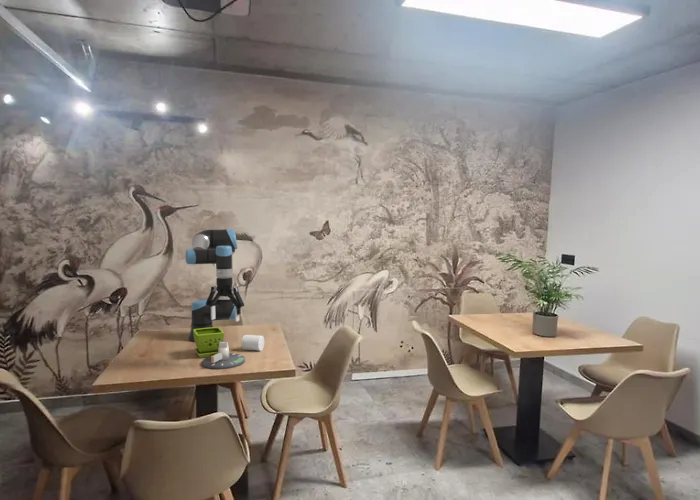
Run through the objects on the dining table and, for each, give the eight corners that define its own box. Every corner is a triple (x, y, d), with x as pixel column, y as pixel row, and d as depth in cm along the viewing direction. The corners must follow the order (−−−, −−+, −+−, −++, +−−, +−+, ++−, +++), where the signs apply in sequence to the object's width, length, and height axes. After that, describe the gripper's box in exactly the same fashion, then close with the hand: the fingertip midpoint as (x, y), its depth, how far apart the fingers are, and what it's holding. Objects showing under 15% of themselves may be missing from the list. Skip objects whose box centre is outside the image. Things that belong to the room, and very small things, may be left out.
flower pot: (196, 359, 222) (196, 335, 221) (192, 352, 234) (192, 329, 233) (225, 356, 228) (224, 331, 227) (219, 349, 240) (219, 326, 239)
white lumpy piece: (222, 357, 220) (222, 340, 220) (231, 358, 219) (230, 341, 218) (207, 364, 209) (207, 347, 209) (216, 365, 208) (216, 348, 207)
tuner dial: (196, 361, 218) (195, 358, 218) (233, 353, 231) (233, 350, 231) (213, 372, 203) (213, 368, 203) (252, 363, 216) (252, 359, 216)
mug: (258, 352, 234) (258, 337, 233) (241, 351, 236) (241, 336, 235) (267, 346, 246) (267, 332, 245) (250, 345, 248) (250, 331, 247)
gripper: (197, 277, 215) (198, 320, 217) (242, 279, 208) (243, 323, 209) (207, 275, 223) (208, 317, 224) (250, 277, 215) (251, 320, 216)
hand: (225, 320), depth 217 cm, fingers open, 13 cm apart
